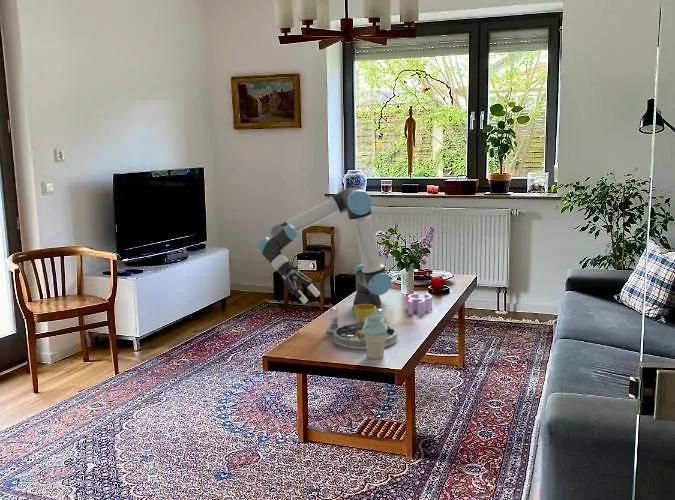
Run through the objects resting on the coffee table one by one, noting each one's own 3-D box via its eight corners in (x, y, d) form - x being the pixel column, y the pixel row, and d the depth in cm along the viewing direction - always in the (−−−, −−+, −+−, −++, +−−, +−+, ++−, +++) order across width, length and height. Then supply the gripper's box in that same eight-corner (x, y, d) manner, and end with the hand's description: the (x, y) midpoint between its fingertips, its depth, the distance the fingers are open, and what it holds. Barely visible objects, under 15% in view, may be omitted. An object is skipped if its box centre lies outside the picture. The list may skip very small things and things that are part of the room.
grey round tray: (347, 327, 315) (346, 302, 313) (405, 333, 305) (405, 307, 302) (323, 345, 290) (322, 318, 288) (385, 352, 279) (385, 324, 277)
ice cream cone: (357, 357, 274) (356, 310, 271) (375, 350, 282) (375, 304, 278) (375, 362, 267) (375, 314, 264) (394, 355, 275) (393, 308, 271)
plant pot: (378, 323, 321) (378, 304, 319) (373, 330, 311) (373, 309, 309) (357, 322, 323) (357, 303, 322) (352, 328, 314) (351, 308, 312)
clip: (427, 316, 332) (427, 303, 331) (402, 314, 336) (402, 301, 335) (434, 306, 351) (434, 293, 350) (410, 304, 355) (410, 292, 354)
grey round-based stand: (330, 328, 315) (329, 305, 313) (344, 329, 312) (343, 307, 310) (324, 332, 309) (323, 309, 307) (338, 334, 306) (337, 311, 304)
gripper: (289, 265, 328) (318, 297, 325) (265, 276, 305) (295, 310, 302) (299, 255, 325) (328, 287, 322) (275, 265, 302) (306, 300, 299)
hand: (312, 298), depth 312 cm, fingers open, 13 cm apart
